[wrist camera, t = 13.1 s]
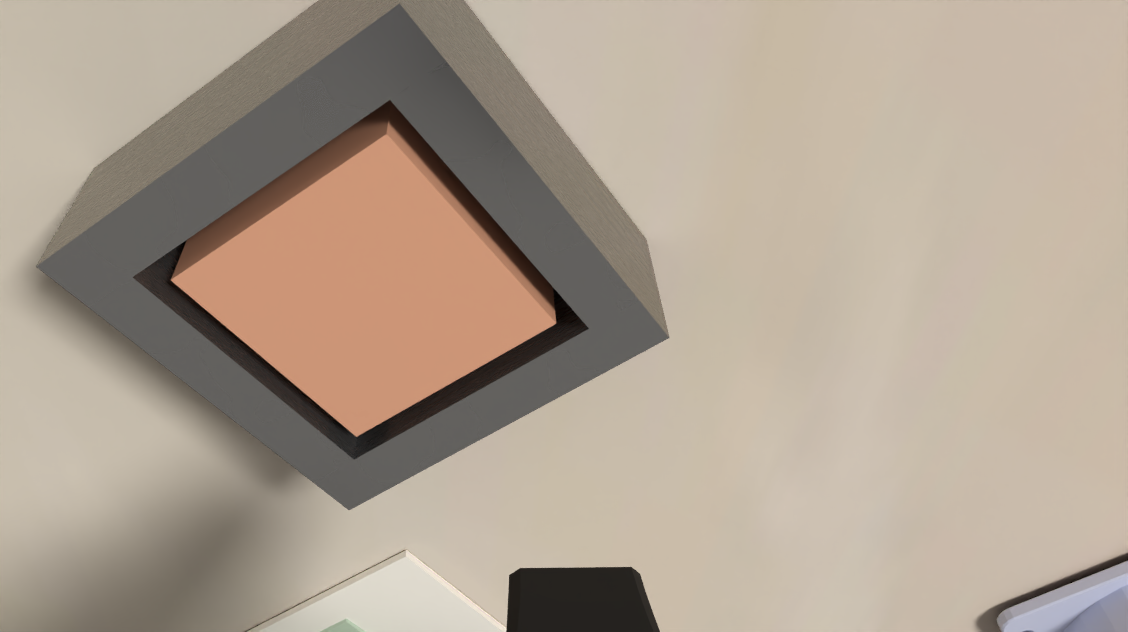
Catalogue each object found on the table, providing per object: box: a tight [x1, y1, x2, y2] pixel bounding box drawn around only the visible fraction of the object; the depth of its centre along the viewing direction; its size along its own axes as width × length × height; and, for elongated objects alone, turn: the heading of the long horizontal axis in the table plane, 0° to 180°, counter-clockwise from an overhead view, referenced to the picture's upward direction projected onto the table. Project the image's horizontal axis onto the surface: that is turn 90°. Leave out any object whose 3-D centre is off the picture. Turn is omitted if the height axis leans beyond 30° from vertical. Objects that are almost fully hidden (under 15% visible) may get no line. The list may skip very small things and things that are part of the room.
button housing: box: [36, 0, 669, 510], centre depth 18 cm, size 7×7×3 cm
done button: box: [171, 100, 556, 437], centre depth 17 cm, size 4×4×2 cm
